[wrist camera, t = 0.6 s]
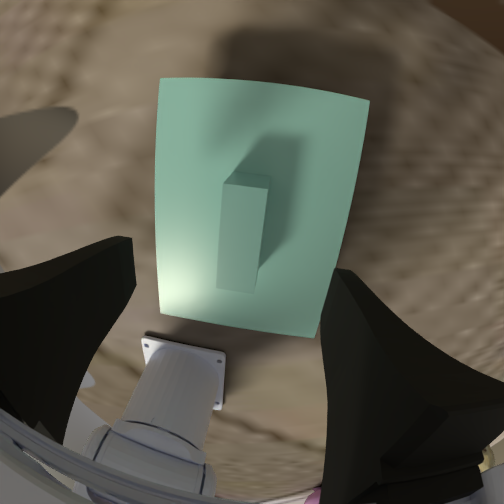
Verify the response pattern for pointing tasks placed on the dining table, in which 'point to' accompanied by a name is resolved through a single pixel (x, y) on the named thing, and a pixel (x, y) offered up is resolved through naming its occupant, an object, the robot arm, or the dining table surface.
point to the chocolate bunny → (487, 459)
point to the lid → (252, 199)
